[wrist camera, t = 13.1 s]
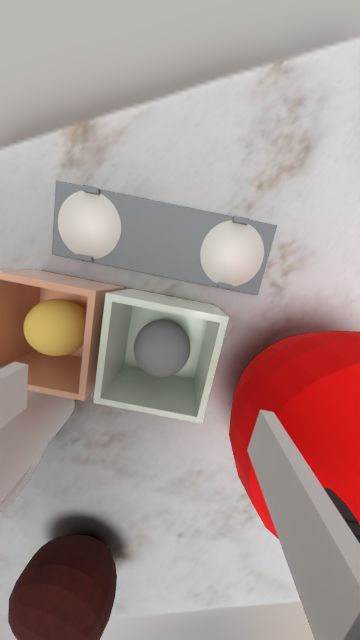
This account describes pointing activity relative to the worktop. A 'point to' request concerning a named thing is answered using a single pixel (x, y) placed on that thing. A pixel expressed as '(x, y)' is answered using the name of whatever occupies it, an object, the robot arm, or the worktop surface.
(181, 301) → the sage open box
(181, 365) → the ball grey
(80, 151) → the worktop surface
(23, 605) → the potato
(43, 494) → the worktop surface
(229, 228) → the slate card
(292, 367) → the vase
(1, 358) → the salmon open box
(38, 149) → the worktop surface
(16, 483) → the mug
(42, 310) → the ball mustard
